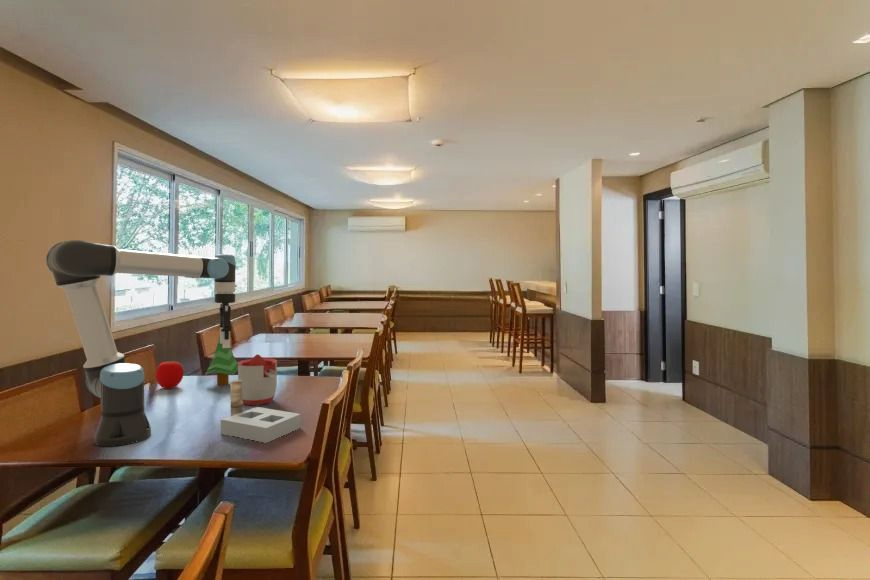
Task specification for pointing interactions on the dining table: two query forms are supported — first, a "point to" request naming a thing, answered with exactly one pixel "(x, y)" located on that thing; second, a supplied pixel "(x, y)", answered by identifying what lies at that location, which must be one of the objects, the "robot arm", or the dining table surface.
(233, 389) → the peg
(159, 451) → the dining table surface
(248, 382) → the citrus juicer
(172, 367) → the red rounded piece
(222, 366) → the decorative tree
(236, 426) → the board
